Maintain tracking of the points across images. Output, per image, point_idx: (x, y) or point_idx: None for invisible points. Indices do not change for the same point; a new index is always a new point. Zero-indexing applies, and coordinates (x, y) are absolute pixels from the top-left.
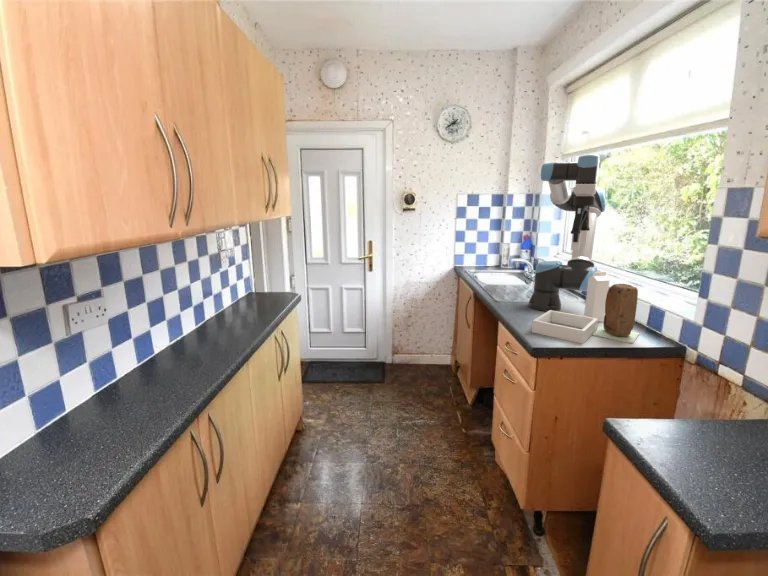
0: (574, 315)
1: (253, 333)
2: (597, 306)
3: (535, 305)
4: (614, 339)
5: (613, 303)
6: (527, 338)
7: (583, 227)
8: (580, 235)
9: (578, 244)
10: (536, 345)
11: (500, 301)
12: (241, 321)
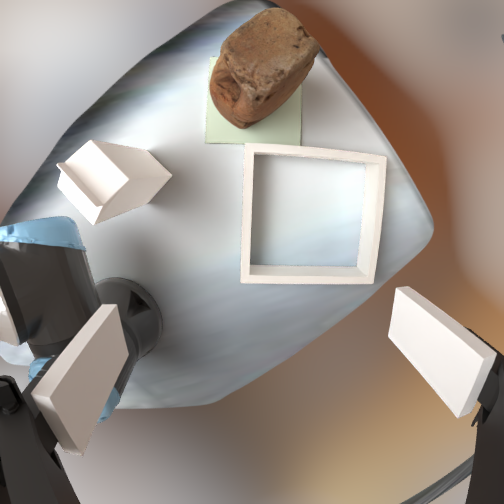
0: (251, 208)
1: (470, 459)
2: (151, 166)
3: (158, 336)
4: (300, 97)
5: (289, 89)
6: (403, 265)
7: (57, 466)
8: (97, 410)
9: (435, 309)
10: (429, 236)
11: (157, 407)
12: (444, 485)
